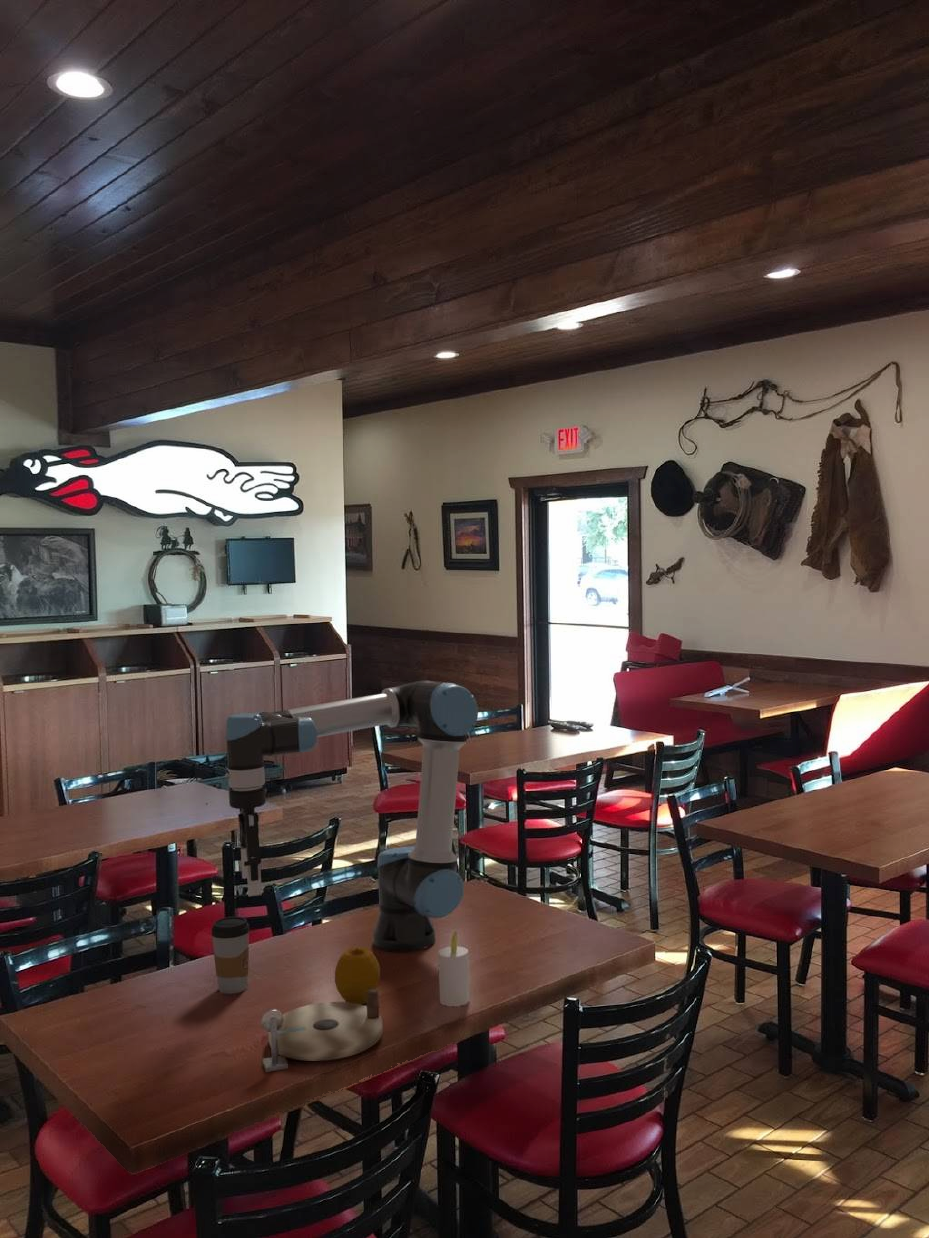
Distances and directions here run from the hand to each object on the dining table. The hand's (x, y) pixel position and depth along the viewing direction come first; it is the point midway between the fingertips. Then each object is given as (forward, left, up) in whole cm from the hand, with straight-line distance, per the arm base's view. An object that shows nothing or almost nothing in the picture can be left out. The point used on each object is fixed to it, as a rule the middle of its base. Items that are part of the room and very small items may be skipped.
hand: (251, 886), depth 225 cm
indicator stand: (+1, +31, -25) cm, 40 cm away
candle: (-39, +16, -25) cm, 49 cm away
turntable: (-10, +24, -25) cm, 36 cm away
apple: (-20, +9, -25) cm, 34 cm away
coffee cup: (+4, -10, -25) cm, 27 cm away
